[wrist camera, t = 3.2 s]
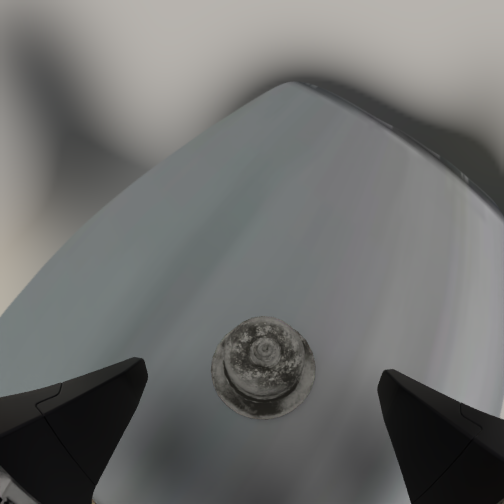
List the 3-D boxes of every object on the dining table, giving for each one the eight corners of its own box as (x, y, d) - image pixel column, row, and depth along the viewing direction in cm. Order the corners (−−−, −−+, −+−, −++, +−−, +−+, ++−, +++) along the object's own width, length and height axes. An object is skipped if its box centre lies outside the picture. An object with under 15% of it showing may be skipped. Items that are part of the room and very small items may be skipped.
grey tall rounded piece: (276, 316, 21) (291, 224, 10) (322, 384, 18) (399, 369, 8) (204, 358, 19) (134, 313, 9) (248, 429, 17) (230, 481, 6)
